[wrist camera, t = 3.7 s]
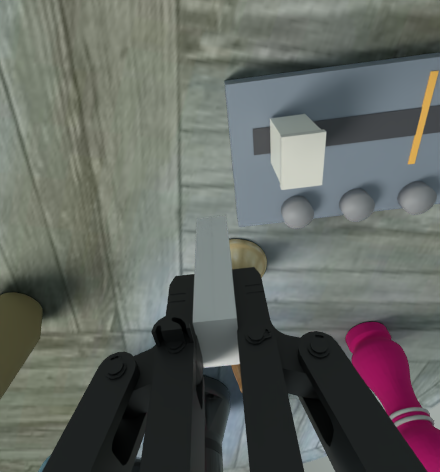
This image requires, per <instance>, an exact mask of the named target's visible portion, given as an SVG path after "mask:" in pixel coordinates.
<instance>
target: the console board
mask: <svg viewBox="0 0 440 472" xmlns="http://www.w3.org/2000/svg"><path fill="white" fill-rule="evenodd" d="M224 83H225V93H226V104H227V114H228V125H229V135H230V146H231V156H232V167H233V177H234V188H235V198H236V209H237V219H238V225H239V227H245V226H253V225H262V224H270V223H279V222H285V223H286V225H287V226H289V227H291V228H295V229H298V228H303V227H305V226H307V225H308V224H309V223H310V222H311V221H312V219H313V218H321V217H330V216H339V215H344V216H345V217H346V218H347V219H348V220H350V221H353V222H358V221H362V220H364V219H366V218H367V217H369V216H370V215H371V214H372V212H373V211H381V210H390V209H398V208H404V209H405V210H406V211H407V212H408V213H409V214H412V215H418V214H422V213H424V212H426V211H428V210H429V209H430V208H431V207H432V206H433V205H434V204H440V52H438V53H431V54H423V55H416V56H408V57H400V58H393V59H385V60H378V61H370V62H363V63H355V64H347V65H340V66H332V67H325V68H317V69H310V70H302V71H294V72H287V73H279V74H272V75H264V76H256V77H249V78H241V79H234V80H226V81H224ZM300 114H306V115H307V116H308V117H309V118H310V119H311V120H312V121H313V122H314V123H315V124H316V125H317V126H318V127H319V128H320V129H321V130H322V129H324V130H325V131H326V144H325V156H324V168H323V180H322V185H319V186H311V187H303V188H294V189H286V190H281V188H280V182H279V179H278V177H277V175H276V173H275V171H274V168H273V166H272V164H271V146H270V118H277V117H284V116H292V115H300Z"/></svg>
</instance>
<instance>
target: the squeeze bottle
mask: <svg viewBox="0 0 440 472" xmlns="http://www.w3.org/2000/svg"><path fill="white" fill-rule="evenodd" d="M42 312H43V309H42V307H41V306H40V304H39V303H38V302H37V301H36V300H34V299H33V298H31V297H29V296H27V295H25V294H21V293H15V292H11V293H4V294H2V295H0V399H1V398H2V396H3V395H4V393H5V392H6V390H7V389H8V387H9V385H10V384H11V382H12V381H13V379H14V378H15V376H16V375H17V373H18V372H19V370H20V369H21V367H22V366H23V364H24V362H25V361H26V359H27V358H28V356H29V355H30V353H31V352H32V350H33V349H34V347H35V346H36V344H37V342H38V341H39V339H40V335H41V324H42Z"/></svg>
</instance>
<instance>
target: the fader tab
mask: <svg viewBox="0 0 440 472" xmlns="http://www.w3.org/2000/svg"><path fill="white" fill-rule="evenodd" d="M325 144H326V131H325V130H324V129H322V130H321V129H320V128H319V127H318V126H317V125H316V124H315V123H314V122H313V121H312V120H311V119H310V118H309V117H308V116H307V115H306V114H300V115H292V116H284V117H277V118H270V146H271V164H272V166H273V168H274V171H275V173H276V175H277V177H278V179H279V182H280V188H281V190H286V189H294V188H303V187H311V186H319V185H322V180H323V168H324V156H325Z"/></svg>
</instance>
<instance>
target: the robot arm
mask: <svg viewBox="0 0 440 472" xmlns="http://www.w3.org/2000/svg"><path fill="white" fill-rule="evenodd" d="M152 335H153V337H154V340H155V342H156V345H155V346H154V347H153V348H151V349H149V350H148V351H145V352H143V353H141V354H138V355H136V356H132V355H131V354H129V353H126V352H117V353H115V354H112V355H110V356H109V357H107V358H106V359H105V360H104V361H103V362H102V363H101V365H100V366H99V367H98V369H97V371H96V373H95V375H94V377H93V378H92V380H91V382H90V384H89V386H88V388H87V390H86V391H85V393H84V395H83V397H82V399H81V401H80V402H79V404H78V406H77V408H76V410H75V412H74V414H73V415H72V417H71V419H70V421H69V423H68V425H67V426H66V428H65V430H64V432H63V434H62V436H61V438H60V439H59V441H58V443H57V445H56V447H55V449H54V450H53V452H52V454H51V455H50V456H49V457H48V458H47V459H46V460H45V461H44V463H43V464H42V466H41V467H40V469H39V471H38V472H223V459H222V441H223V437H224V432H225V428H226V424H227V420H228V416H229V412H230V395H229V391H228V389H227V388H226V387H225V386H224V385H223V384H222V383H220V382H219V381H217V380H215V379H212V378H209V377H206V376H203V366H204V368H207V367H217V366H227V365H237V364H240V371H241V382H242V392H243V403H244V413H245V424H246V434H247V445H248V455H249V466H250V472H304V468H303V464H302V459H301V454H300V450H299V445H298V440H297V435H296V431H295V426H294V421H293V417H292V412H291V407H290V403H289V398H288V393H289V394H293V395H297V396H298V397H299V399H300V401H301V403H302V405H303V407H304V409H305V411H306V413H307V415H308V417H309V419H310V421H311V423H312V425H313V427H314V429H315V431H316V433H317V435H318V437H319V439H320V442H321V444H322V446H323V448H324V450H325V452H326V454H327V456H328V458H329V460H330V461H331V464H332V466H333V468H334V470H335V472H428V471H427V470H426V469H425V467H424V466H423V464H422V463H421V461H420V460H419V459H418V457H417V456H416V454H415V453H414V451H413V450H412V449H411V447H410V446H409V444H408V443H407V442H406V440H405V439H404V437H403V436H402V434H401V433H400V432H399V430H398V429H397V427H396V426H395V424H394V423H393V422H392V420H391V419H390V417H389V416H388V414H387V413H386V412H385V410H384V409H383V407H382V406H381V404H380V403H379V402H378V400H377V399H376V397H375V396H374V394H373V393H372V392H371V390H370V389H369V387H368V386H367V384H366V383H365V382H364V380H363V379H362V377H361V376H360V374H359V373H358V372H357V370H356V369H355V367H354V366H353V364H352V363H351V362H350V360H349V359H348V357H347V356H346V355H345V353H344V352H343V350H342V349H341V347H340V346H339V345H338V343H337V342H336V341H335V340H334V339H333V338H332V337H331V336H329V335H328V334H326V333H323V332H318V331H314V332H308V333H306V334H305V335H303V336H302V337H301V338H299V337H293V336H289V335H285V334H283V333H281V332H279V331H278V330H277V329H275V328H274V326H273V325H272V323H271V321H270V317H269V312H268V307H267V303H266V298H265V293H264V288H263V284H262V279H261V274H260V273H259V272H258V271H257V270H256V268H255V267H248V268H239V269H232V261H231V252H230V244H229V236H228V227H227V219H226V215H222V216H213V217H205V218H197V225H196V250H195V274H191V275H182V276H175V278H174V279H173V281H172V282H171V284H170V287H169V296H168V304H167V310H166V316H165V317H163V318H162V319H160V320H158V322H157V323H156V324H155V325H154V327H153V329H152ZM144 434H145V436H144ZM143 436H144V443H143V450H142V457H141V458H138V457H136V456H137V453H138V450H139V448H140V445H141V442H142V439H143Z"/></svg>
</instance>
